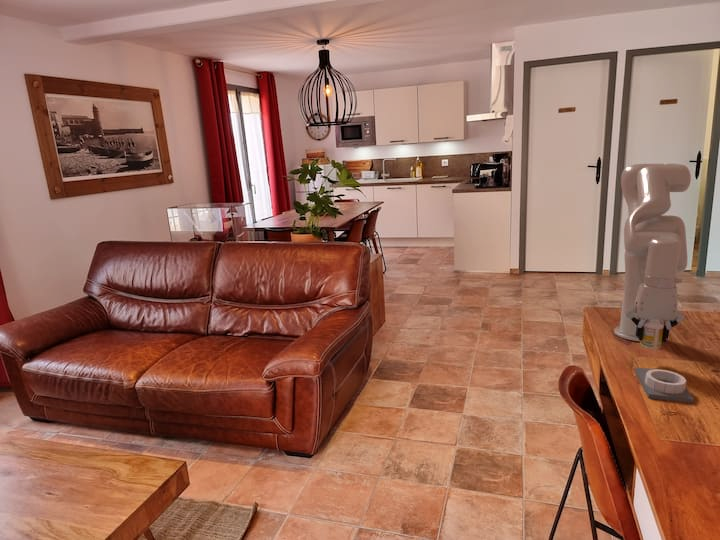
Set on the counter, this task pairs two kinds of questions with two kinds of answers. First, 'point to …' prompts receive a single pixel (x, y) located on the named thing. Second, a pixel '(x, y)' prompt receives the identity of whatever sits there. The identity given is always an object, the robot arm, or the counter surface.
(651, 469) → the counter surface
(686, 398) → the collar board
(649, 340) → the supplement bottle
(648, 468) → the counter surface
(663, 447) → the counter surface
